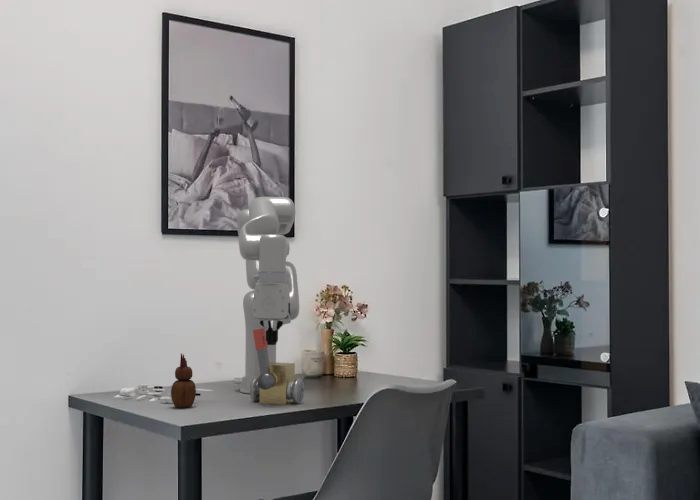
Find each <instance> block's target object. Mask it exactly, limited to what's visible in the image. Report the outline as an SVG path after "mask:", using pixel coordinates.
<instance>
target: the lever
mask: <svg viewBox="0 0 700 500" xmlns="http://www.w3.org/2000/svg"><path fill="white" fill-rule="evenodd" d="M253 335H254V341H255V348H256V350H257V355H258V361H259V368H260V374H261V375H260V376H259V377H258V381H257V382H258V386H259V387H260V388H261V389H263V390H267V389H270V388H272V387H274V386H275V384H276V377H275V376H274V375H273V374H272V373H271V371H270V364H269V358H268V351H267V348H268V345H267V342H266V332H265V329H264V328H263V329H257V330H253Z"/></svg>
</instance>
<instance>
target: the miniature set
mask: <svg viewBox="0 0 700 500" xmlns="http://www.w3.org/2000/svg"><path fill="white" fill-rule="evenodd" d="M148 386H149V384H146V383H140V384H139V385H138V386H137V391H138V393H137V394H139V395H140V396H138V397H136V398H135V400H137V401H139V400H141V399H144V398H146V397H147V395H161V394H162V393H163V392H164V391H166V389H165V388H164V385H160V386H159V385H154V387H153V388H152V391H154V392H150V391H149V389H148ZM213 391H214V389H205V388H196V396H195V397H198V396H199V397H200V396H202V395H201V393H202V392H213ZM197 392H199V393H197ZM141 394H142V395H141ZM135 396H137V395H136V389H135V387H134V386H128V387H123V388H121V389H120V390H119V394H116V395H115V396H113V399H124V397H135ZM158 401H159V403H161V404H168V403H170V404H173V401H172V398H171V393H167V396H160V397H159V398H158V397H156V398H155V397H153V398H151V399H149V403H155V402H158Z"/></svg>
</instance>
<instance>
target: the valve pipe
mask: <svg viewBox="0 0 700 500" xmlns="http://www.w3.org/2000/svg"><path fill="white" fill-rule="evenodd" d="M269 364H270V371H271V373H272V374H273V375H274V376H275V377H276V384H275V386H274V387H272V388H270V389H267V390H263V389H261V388H260V387H259V386H258V382H257V381H258V377H254V378H253V379H252V381H251V385H250V394H249V395H250V399H251V401H252V402H259V404H263V405H264V404H266V405H268V404H269V405H285V406H286V405H289V404H291V403H293V404H299V405H300V404H301V403H302V402H303V399H304V398H305V383H304V380H303V379H302V378H295V377H296V375H295V373H296V372H295V371H296V367H295V366H296V363H295V362H277V361H276V362H269ZM260 375H261V374H260Z"/></svg>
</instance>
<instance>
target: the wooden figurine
mask: <svg viewBox="0 0 700 500" xmlns="http://www.w3.org/2000/svg"><path fill="white" fill-rule="evenodd" d="M174 376H175V379H176V380H175V381H174V382H173V383H172V384H171V390H170V394H171V395H170V397H171V398H172V401H173V403H172V404H173V405H174V407H175V408H177V409H188V408H191V407H192V406H193V405H194V403H195V401H196V397H197V396H196V393H197V391H196V389H197V388H196V383H195V382H194V380H192V378H193V368H192V367H191V366H188V361H187V359H186V358H185V354H184V353H180V361H179V366H178V367H176V369H175V371H174Z"/></svg>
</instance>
